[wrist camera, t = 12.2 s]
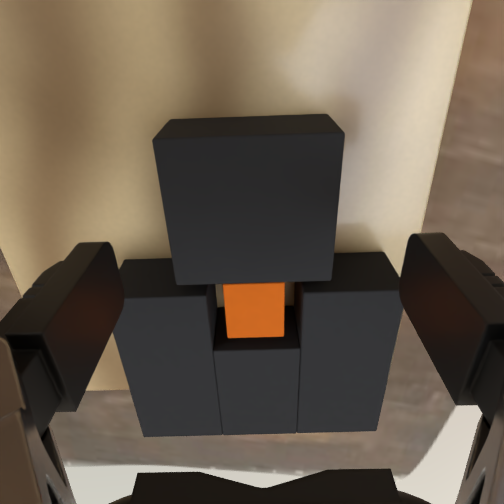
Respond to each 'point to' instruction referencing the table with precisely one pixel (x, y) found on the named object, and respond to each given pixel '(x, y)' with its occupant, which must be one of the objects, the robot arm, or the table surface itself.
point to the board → (210, 114)
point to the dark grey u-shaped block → (259, 353)
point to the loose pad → (251, 208)
